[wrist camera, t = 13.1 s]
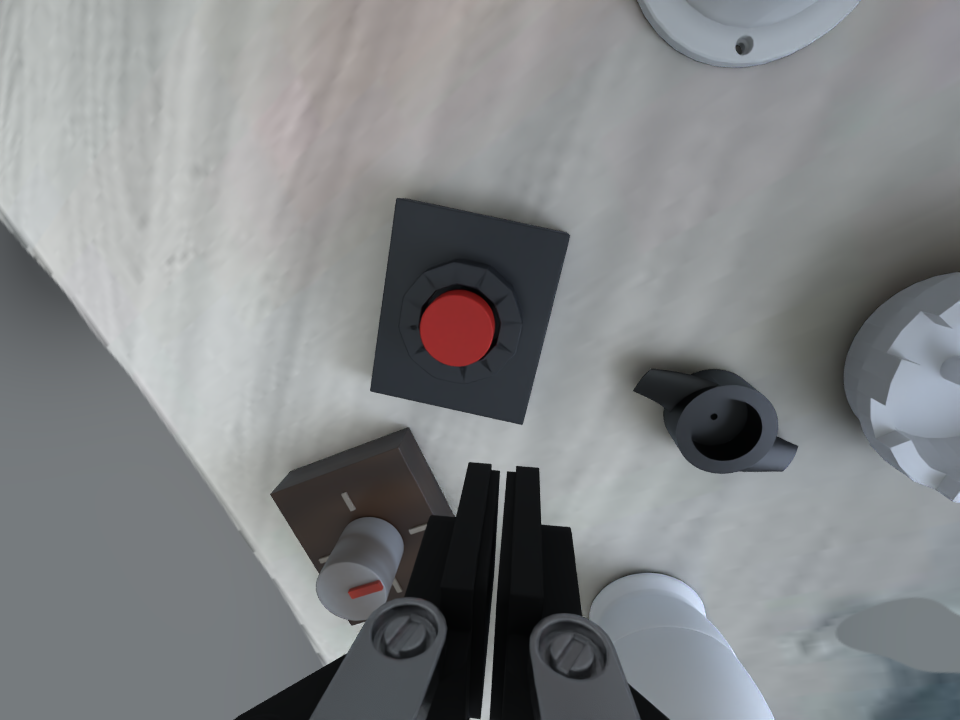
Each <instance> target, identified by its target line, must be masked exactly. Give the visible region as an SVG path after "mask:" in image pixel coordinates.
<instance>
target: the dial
mask: <svg viewBox="0 0 960 720" xmlns="http://www.w3.org/2000/svg"><path fill="white" fill-rule="evenodd" d="M403 551H404V544H403V540H402V537H401V535H400V534H399V532H398V531H397V529H396V528H395V527H394V526H392V525H391V524H390V523H388V522H386V521H384V520H382V519H379V518H375V517H363V518H359V519H356V520H354V521H352V522H351V523H349V524H348V525H347V526H346V528H345V529H344V531H343V533H342V534H341V536H340V538H339V540H338V542H337V543H336V545H335V547H334V549H333V550H332V552H331V554H330V556H329V558H328V559H327V561H326V563H325V565H324V567H323V568H322V570H321V572H320V574H319V576H318V578H317V582H316V591H317V595H318V598H319V600H320V601H321V603H322V604H323V605H324V607H325V608H326V609H328V610H329V611H330V612H331V613H333V614H334V615H336V616H338V617H341V618H343V619H347V620H353V621H360V620H366V619H368V618H369V616H370V615H371V614H372V612H373V611H374V610H376V609H377V608H378V607H380V606H381V605H382V604H384V603H386V601H387V598H388V595H389V592H390V589H391V586H392V583H393V581H394V578H395V575H396V572H397V569H398V566H399V564H400V561H401V558H402V555H403Z"/></svg>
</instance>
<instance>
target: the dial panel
mask: <svg viewBox="0 0 960 720" xmlns="http://www.w3.org/2000/svg"><path fill="white" fill-rule="evenodd" d="M270 495H271V497H272V498H273V500H274V501H275V503H276V505H277V506H278V508H279V509H280V511H281V513H282V514H283V516H284V518H285V519H286V521H287V522H288V524H289V526H290V527H291V529H292V530H293V532H294V534H295V535H296V537H297V539H298V540H299V542H300V543H301V545H302V547H303V548H304V550H305V551H306V553H307V555H308V556H309V558H310V560H311V561H312V563H313V564H314V566H315V568H316V569H317V571H318V572H319V574H320V572H321V570H322V568H323V567H324V565H325V563H326V561H327V559H328V558H329V556H330V554H331V552H332V550H333V549H334V547H335V545H336V543H337V542H338V540H339V538H340V536H341V534H342V533H343V531H344V529H345V528H346V526H347V525H348V524H349V523H351V522H352V521H354V520H356V519H359V518H363V517H375V518H379V519H382V520H384V521H386V522H388V523H390V524H391V525H392V526H394V527H395V528H396V529H397V531H398V532H399V534H400V535H401V537H402V540H403V544H404V551H403V555H402V558H401V561H400V564H399V566H398V569H397V572H396V575H395V578H394V581H393V583H392V586H391V589H390V592H389V595H388V598H387V601H386V602H389V601H391V600H394V599H397V598H404V596H405V593H406V589H407V586H408V583H409V580H410V577H411V574H412V570H413V567H414V564H415V561H416V558H417V554H418V551H419V548H420V545H421V542H422V538H423V535H424V532H425V529H426V526H427V523H428V520H429V517H430V516H431V515H440V516H451V517H454V515H453V513H452V511H451V509H450V507H449V505H448V503H447V501H446V499H445V497H444V495H443V493H442V491H441V489H440V487H439V485H438V483H437V481H436V480H435V478H434V476H433V474H432V472H431V470H430V468H429V466H428V464H427V462H426V460H425V458H424V456H423V454H422V452H421V450H420V448H419V446H418V444H417V442H416V441H415V439H414V437H413V435H412V433H411V431H410V429H409V427H408V428H405V429H403V430H400V431H397V432H395V433H392V434H389V435H387V436H384V437H381V438H379V439H376V440H373V441H371V442H368V443H365V444H363V445H360V446H357V447H355V448H352V449H349V450H347V451H344V452H341V453H339V454H336V455H333V456H331V457H328V458H325V459H323V460H320V461H317V462H315V463H312V464H309V465H307V466H304V467H301V468H299V469H296V470H293V471H291V472H289V473H288V475H287V476H286V477H285V478H284V479H283V480H282V481H281V483H280V484H279V485H278V486H277V487H276V488H275V489H274V490H273V492H272V493H271V494H270ZM366 620H367V619H366ZM366 620H360V621H353V620H348V621H349V623H350V624H351V625H355V624H359V623H362V622H366Z"/></svg>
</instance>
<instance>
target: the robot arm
mask: <svg viewBox="0 0 960 720" xmlns="http://www.w3.org/2000/svg"><path fill="white" fill-rule="evenodd" d="M637 1H638V3H639V5H640V7H641V10H642V12H643V14H644V16H645V17H646V19H647V20H648V21H649V23H650V24H651V25H652V27H653V28H654V30H655V31H656V32H657V34H658V35H659V36H660V37H662V38H663V39H664V40H665V41H666V42H667V43H668V44H669V45H671V46H672V47H673V48H674V49H675V50H677V51H679V52H681V53H682V54H684V55H686V56H688V57H690V58H692V59H693V60H695V61H699V62H703V63H706V64H710V65H713V66H717V67H735V68H742V67H749V66H755V65H762V64H766V63H769V62H772V61H775V60H777V59H780V58H783V57H786V56H789V55H790V54H792V53H794V52H796V51H798V50H800V49H802V48H804V47H806V46H807V45H809V44H811V43H812V42H814V41H815V40H817V39H818V38H820V37H821V36H823V35H824V34H825V33H827V32H828V31H830V30H831V29H833V28H834V27H835V26H836V25H837V24H838V23H839V22H840V21H841V20H842V19H844V18H845V17H846V16H847V15H848V14H849V13H850V12H851V11H852V10H853V9H854V8H855V7H856V6H857V5H858V3H859V2H860V1H861V0H637ZM736 45H738V46H740V47H741V49H742V52H741V54H738V53H737V52H736V50H735V46H736ZM491 468H492V465H491V464H485V463H472V462H469V464H468V468H467V472H466V477H465V481H464V485H463V490H462V494H461V498H460V503H459V507H458V512H457V516H456V517H451V516H440V515H431V516H430V517H429V520H428V523H427V526H426V529H425V532H424V535H423V538H422V542H421V545H420V548H419V551H418V554H417V558H416V561H415V564H414V567H413V570H412V574H411V577H410V580H409V583H408V586H407V589H406V593H405V596H404V598H397V599H394V600H391V601H389V602H386V603H384V604H382V605H381V606H380V607H378V608H377V609H376V610H374V611H373V612H372V614H371V615H370V616H369V618H368V619H367V620H366V622H365V623H364V625H363V627H362V629H361V630H360V632H359V634H358V636H357V637H356V639H355V641H354V643H353V644H352V646H351V648H350V649H349V651H348V653H347V654H345V655H343V656H342V657H340V658H338V659H336V660H335V661H333V662H331V663H330V664H328V665H326V666H324V667H323V668H321V669H319V670H318V671H316V672H314V673H312V674H311V675H309V676H307V677H305V678H304V679H302V680H300V681H299V682H297V683H295V684H293V685H292V686H290V687H288V688H286V689H285V690H283V691H281V692H279V693H278V694H276V695H274V696H273V697H271V698H269V699H267V700H266V701H264V702H262V703H260V704H259V705H257V706H256V707H254V708H252V709H250V710H248V711H247V712H245V713H243V714H241V715H240V716H238V717H237V718H236V719H234V720H469V718H476V719H480V718H481V708H482V698H483V687H484V676H485V666H486V655H487V645H488V634H489V623H490V613H491V602H492V591H493V581H494V568H495V551H496V533H497V515H498V497H499V479H500V471H496V470H491ZM490 720H670V719H669V718H668V717H667V716H665V715H664V714H663V713H662V712H661V711H660V710H658V709H657V708H656V707H655V706H654V705H653V704H652V703H650V702H649V701H648V700H647V699H646V698H645V697H644V696H642V695H641V694H640V693H639V692H638V691H637V690H636V689H634V688H633V687H632V686H631V685H630V684H629V683H628V682H627V680H626V677H625V674H624V671H623V668H622V666H621V663H620V660H619V657H618V655H617V652H616V649H615V646H614V645H613V643H612V641H611V639H610V637H609V636H608V634H607V633H606V632H605V631H604V630H603V629H602V628H601V627H600V626H599V625H597V624H595V623H594V622H592V621H591V620H589V619H587V618H584V617H582V611H581V603H580V595H579V587H578V579H577V571H576V563H575V555H574V547H573V539H572V532H571V528H570V527H562V526H551V525H541V507H540V478H539V468H534V467H522V466H516V472H508V471H507V478H506V491H505V503H504V515H503V527H502V539H501V551H500V564H499V576H498V589H497V603H496V620H495V637H494V654H493V671H492V688H491V705H490Z"/></svg>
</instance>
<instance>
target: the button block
mask: <svg viewBox="0 0 960 720" xmlns="http://www.w3.org/2000/svg"><path fill="white" fill-rule="evenodd" d="M569 238H570V235H569V234H568V233H567V232H563V231H558V230H553V229H548V228H544V227H539V226H534V225H529V224H525V223H520V222H515V221H511V220H506V219H501V218H496V217H492V216H487V215H482V214H477V213H473V212H468V211H463V210H458V209H454V208H449V207H444V206H440V205H435V204H430V203H425V202H421V201H416V200H411V199H406V198H397V199H396V205H395V213H394V220H393V227H392V235H391V242H390V249H389V257H388V264H387V271H386V278H385V286H384V293H383V300H382V308H381V315H380V322H379V329H378V337H377V344H376V351H375V359H374V366H373V373H372V381H371V388H370V391H371V392H376V393H380V394H385V395H390V396H394V397H399V398H403V399H408V400H412V401H417V402H421V403H426V404H430V405H435V406H439V407H444V408H448V409H453V410H457V411H462V412H466V413H471V414H475V415H480V416H484V417H489V418H493V419H498V420H503V421H507V422H512V423H516V424H521V425H522V424H523V422H524V418H525V414H526V410H527V406H528V402H529V398H530V394H531V390H532V386H533V382H534V378H535V374H536V370H537V366H538V362H539V358H540V354H541V350H542V346H543V342H544V338H545V334H546V330H547V326H548V322H549V318H550V314H551V310H552V306H553V302H554V298H555V294H556V290H557V286H558V282H559V278H560V274H561V270H562V266H563V262H564V258H565V254H566V250H567V246H568V242H569ZM451 290H467V291H471V292H473V293H475V294H477V295H479V296H480V297H482V298H483V299H484V300H485V301H486V302H487V304H488V305H489V306H490V308H491V310H492V312H493V315H494V319H495V331H494V335H493V339H492V343H491V345H490V348H489V349H488V351H487V352H486V354H485V355H484V356H483V357H482V358H481V359H479V360H478V361H476V362H474V363H472V364H470V365H466V366H449V365H446V364H443V363H441V362H439V361H437V360H436V359H435V358H433V357H432V356H431V355H430V354H429V353H428V351H427V350H426V349H425V347H424V345H423V343H422V340H421V336H420V322H421V318H422V316H423V313H424V312H425V310H426V309H427V307H428V306H429V305H430V304H431V303H432V302H433V301H434V300H435V299H436V298H437V297H438V296H440V295H441V294H443V293H445V292H448V291H451Z"/></svg>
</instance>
